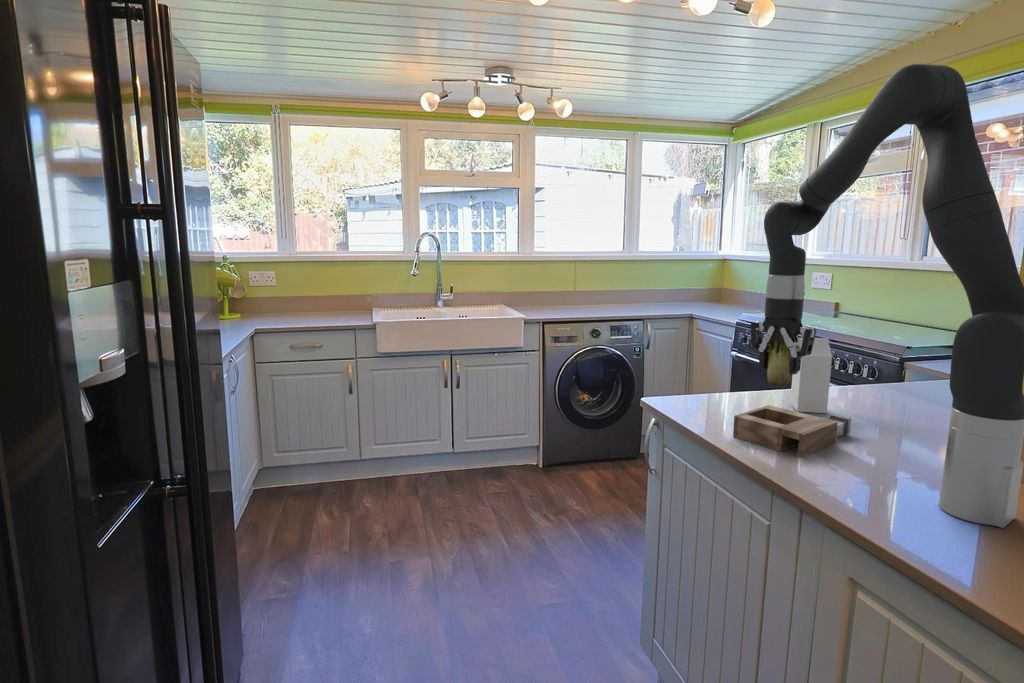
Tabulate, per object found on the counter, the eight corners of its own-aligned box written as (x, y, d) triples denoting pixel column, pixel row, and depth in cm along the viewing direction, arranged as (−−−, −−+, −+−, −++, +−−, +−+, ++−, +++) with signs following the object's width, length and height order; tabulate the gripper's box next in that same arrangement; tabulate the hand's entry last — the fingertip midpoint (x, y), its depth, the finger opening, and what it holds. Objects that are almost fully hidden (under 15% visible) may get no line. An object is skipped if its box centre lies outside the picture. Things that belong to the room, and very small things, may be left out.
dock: (835, 443, 126) (837, 421, 125) (802, 457, 118) (804, 434, 117) (767, 425, 138) (768, 405, 138) (733, 436, 130) (734, 415, 130)
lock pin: (849, 434, 131) (851, 418, 130) (820, 446, 123) (822, 429, 123) (831, 429, 134) (833, 414, 133) (802, 441, 127) (803, 424, 126)
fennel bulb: (763, 381, 131) (766, 329, 129) (786, 382, 130) (790, 330, 128) (770, 387, 125) (774, 333, 123) (794, 388, 124) (798, 334, 122)
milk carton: (827, 413, 147) (833, 341, 144) (797, 412, 149) (803, 340, 145) (818, 405, 154) (824, 336, 151) (789, 404, 155) (795, 335, 152)
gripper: (744, 294, 128) (739, 367, 131) (808, 299, 116) (802, 379, 119) (763, 292, 132) (758, 363, 135) (827, 297, 121) (820, 374, 123)
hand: (778, 370), depth 127 cm, fingers closed on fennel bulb, 6 cm apart
